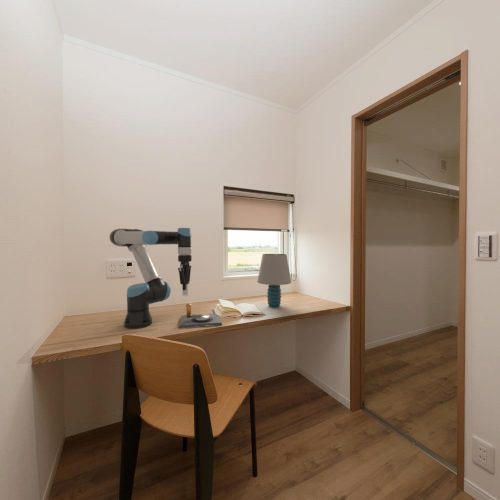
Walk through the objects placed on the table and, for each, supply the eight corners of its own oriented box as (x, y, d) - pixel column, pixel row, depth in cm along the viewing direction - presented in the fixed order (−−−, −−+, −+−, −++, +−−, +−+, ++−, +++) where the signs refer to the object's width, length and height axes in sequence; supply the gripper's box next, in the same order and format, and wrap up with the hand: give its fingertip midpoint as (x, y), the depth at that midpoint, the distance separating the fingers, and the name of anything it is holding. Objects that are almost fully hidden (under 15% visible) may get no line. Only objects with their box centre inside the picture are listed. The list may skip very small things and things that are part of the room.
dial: (210, 315, 158) (210, 301, 158) (211, 320, 148) (211, 305, 148) (186, 317, 155) (186, 302, 155) (186, 322, 145) (186, 306, 145)
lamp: (282, 312, 172) (283, 255, 170) (251, 307, 185) (251, 254, 183) (296, 304, 193) (296, 254, 192) (267, 300, 207) (267, 253, 205)
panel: (179, 328, 141) (179, 325, 141) (181, 317, 160) (181, 315, 160) (221, 325, 146) (221, 322, 146) (218, 315, 165) (218, 312, 165)
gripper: (186, 255, 137) (186, 298, 138) (195, 254, 150) (195, 293, 151) (173, 255, 138) (173, 297, 139) (183, 254, 151) (184, 292, 152)
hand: (185, 295), depth 145 cm, fingers closed
